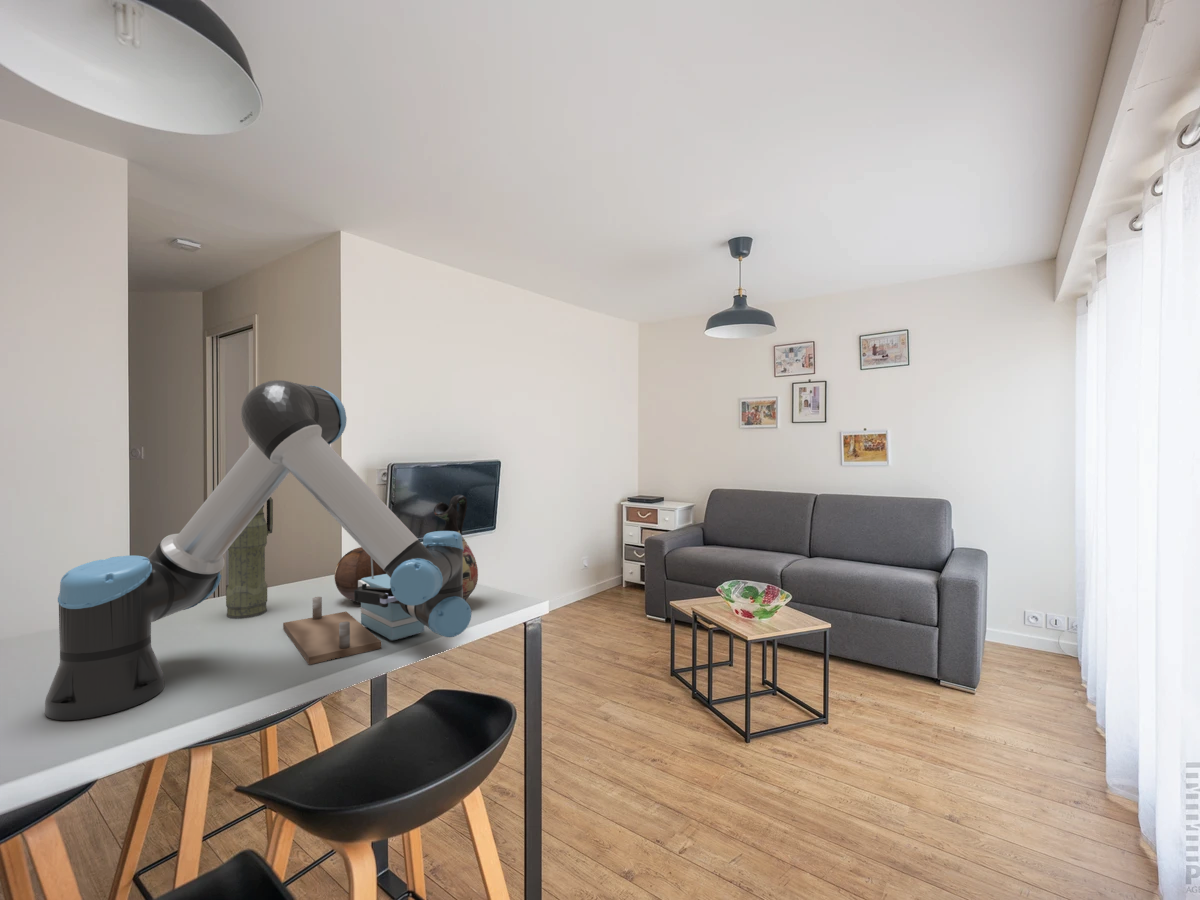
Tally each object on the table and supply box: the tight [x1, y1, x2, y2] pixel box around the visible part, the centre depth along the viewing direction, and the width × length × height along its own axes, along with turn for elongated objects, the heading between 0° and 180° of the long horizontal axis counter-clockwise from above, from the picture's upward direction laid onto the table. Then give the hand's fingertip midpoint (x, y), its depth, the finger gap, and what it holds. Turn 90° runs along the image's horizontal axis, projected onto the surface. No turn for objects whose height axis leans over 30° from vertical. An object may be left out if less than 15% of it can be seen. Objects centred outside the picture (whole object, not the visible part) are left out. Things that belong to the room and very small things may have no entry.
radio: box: [360, 558, 425, 642], centre depth 129 cm, size 16×9×20 cm, turn 47°
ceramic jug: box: [433, 494, 479, 602], centre depth 149 cm, size 17×15×30 cm
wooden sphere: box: [334, 546, 387, 602], centre depth 153 cm, size 15×15×15 cm
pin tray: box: [282, 596, 382, 666], centre depth 124 cm, size 14×27×6 cm, turn 39°
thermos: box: [225, 497, 274, 620], centre depth 141 cm, size 9×12×35 cm
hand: (389, 581), depth 131 cm, fingers open, 13 cm apart
